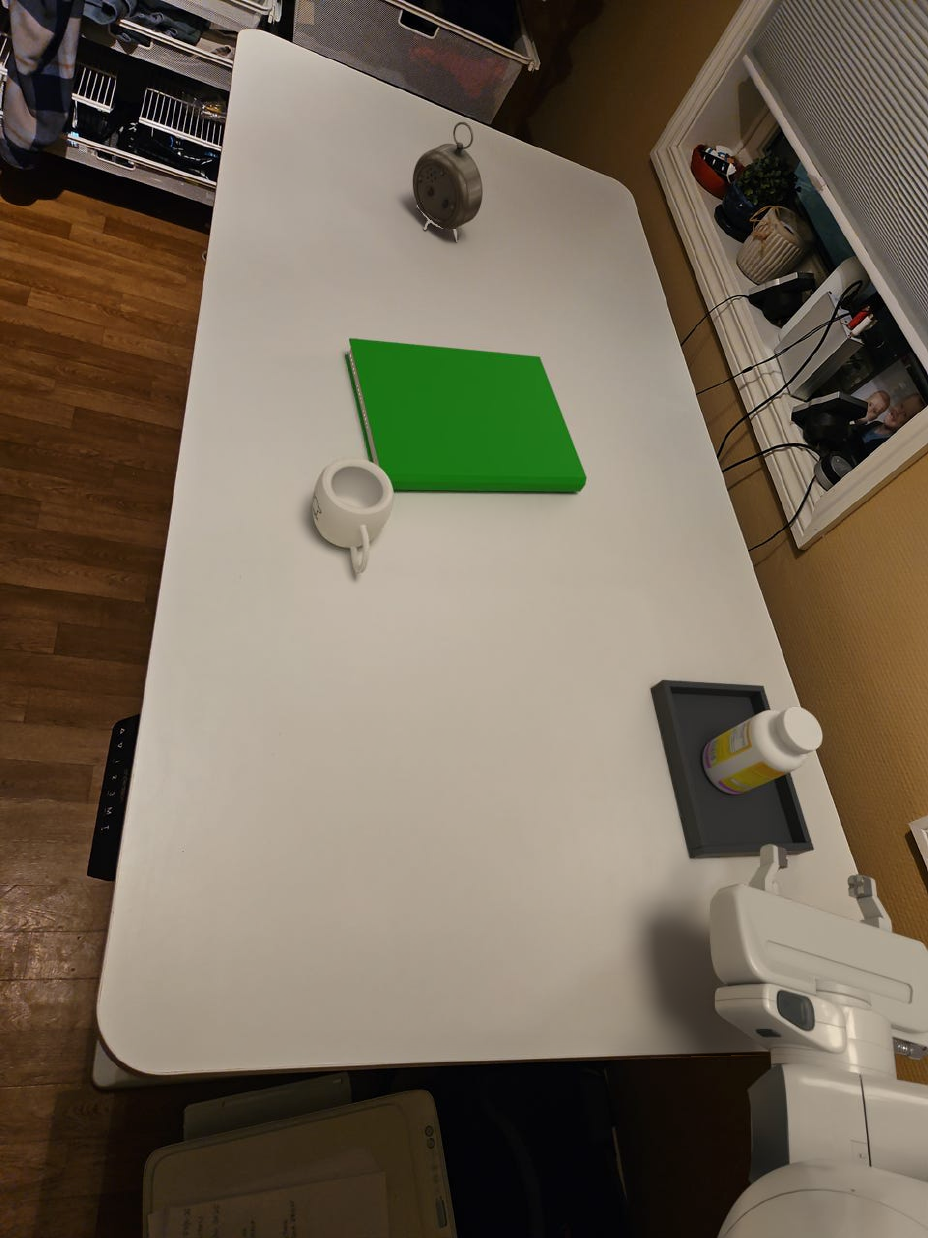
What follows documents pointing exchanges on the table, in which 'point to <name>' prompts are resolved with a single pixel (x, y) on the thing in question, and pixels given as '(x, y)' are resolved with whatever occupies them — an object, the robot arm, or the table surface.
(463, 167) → the alarm clock
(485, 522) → the table surface
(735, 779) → the supplement bottle
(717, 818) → the tray
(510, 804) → the table surface
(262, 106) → the table surface
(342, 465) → the mug
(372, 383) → the book
